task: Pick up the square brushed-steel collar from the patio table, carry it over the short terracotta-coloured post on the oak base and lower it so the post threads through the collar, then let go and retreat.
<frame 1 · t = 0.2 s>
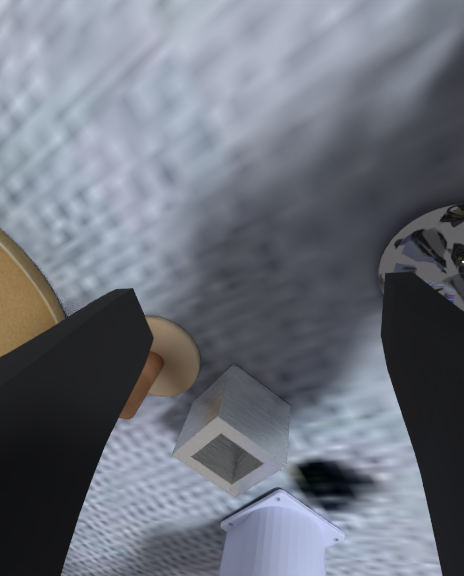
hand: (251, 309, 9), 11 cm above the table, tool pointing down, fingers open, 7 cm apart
wine glass: (447, 265, 18), on the table
collar: (240, 403, 26), on the table
post stand: (157, 354, 25), on the table
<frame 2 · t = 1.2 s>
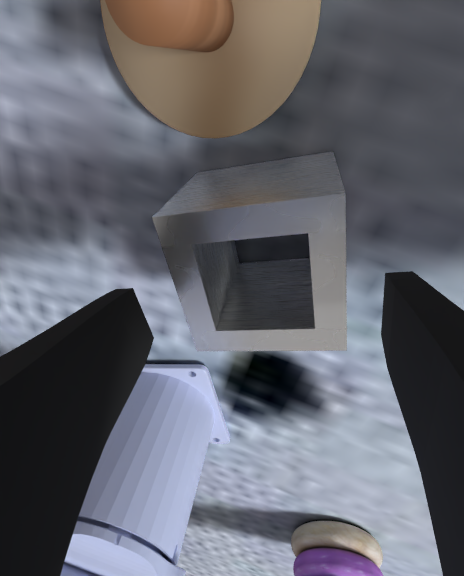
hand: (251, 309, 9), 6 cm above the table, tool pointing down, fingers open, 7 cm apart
stacking toy: (334, 533, 31), on the table
collar: (270, 226, 15), on the table
post stand: (211, 19, 11), on the table
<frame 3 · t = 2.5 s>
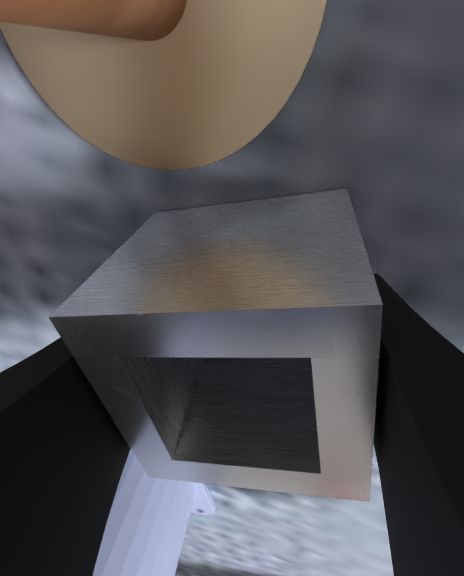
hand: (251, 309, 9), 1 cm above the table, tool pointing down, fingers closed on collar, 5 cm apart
collar: (257, 283, 11), on the table, touching gripper
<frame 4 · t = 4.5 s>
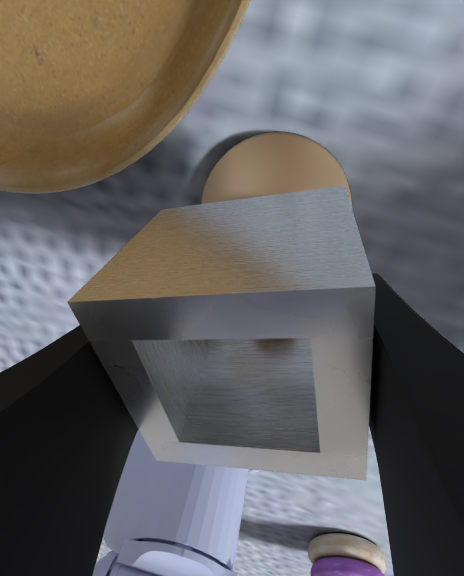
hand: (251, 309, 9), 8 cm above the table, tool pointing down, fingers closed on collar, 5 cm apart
stacking toy: (344, 543, 36), on the table
collar: (260, 277, 11), point 6 cm above the table, touching gripper
post stand: (274, 209, 16), on the table
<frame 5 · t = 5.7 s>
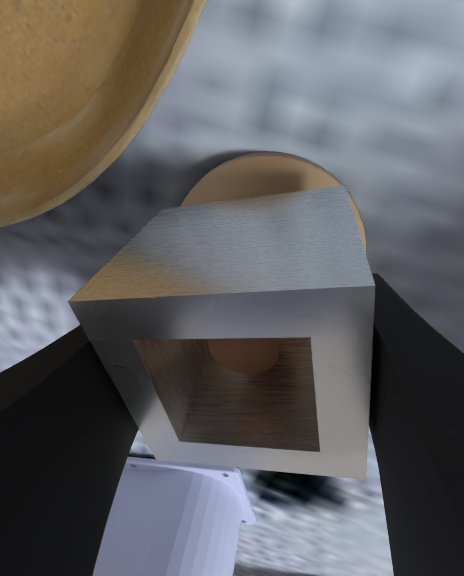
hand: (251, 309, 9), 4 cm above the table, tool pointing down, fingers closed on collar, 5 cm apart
collar: (260, 277, 11), point 2 cm above the table, touching gripper
post stand: (266, 247, 13), on the table
when the fingers open (4 cm above the table, at t = 6.6 s): collar drops 1 cm, resting on post stand.
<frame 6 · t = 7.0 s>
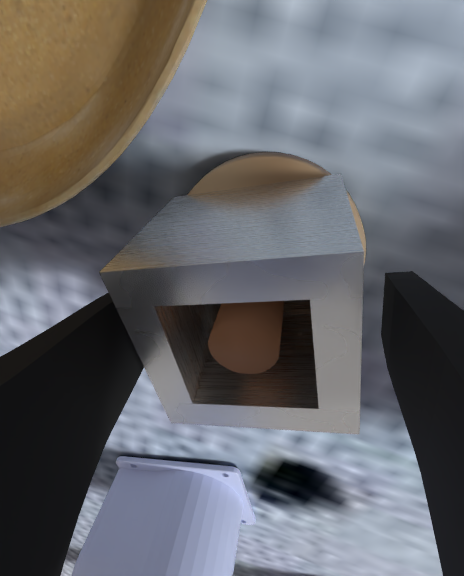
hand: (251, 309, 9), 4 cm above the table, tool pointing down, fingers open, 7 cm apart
collar: (263, 260, 12), point 1 cm above the table, touching post stand
post stand: (266, 248, 13), on the table
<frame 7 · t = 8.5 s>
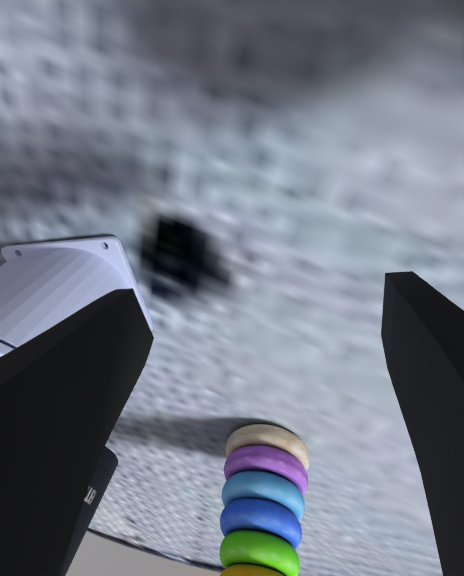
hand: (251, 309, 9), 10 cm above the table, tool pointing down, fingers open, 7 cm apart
wine bottle: (94, 452, 40), on the table
stacking toy: (267, 442, 32), on the table
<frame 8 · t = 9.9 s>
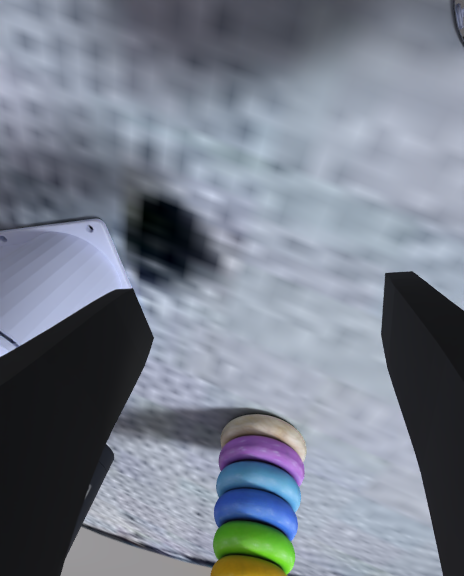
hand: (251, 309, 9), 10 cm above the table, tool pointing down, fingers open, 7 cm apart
wine bottle: (90, 446, 40), on the table
stacking toy: (263, 433, 31), on the table
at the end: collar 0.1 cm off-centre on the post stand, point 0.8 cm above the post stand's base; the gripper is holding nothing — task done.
